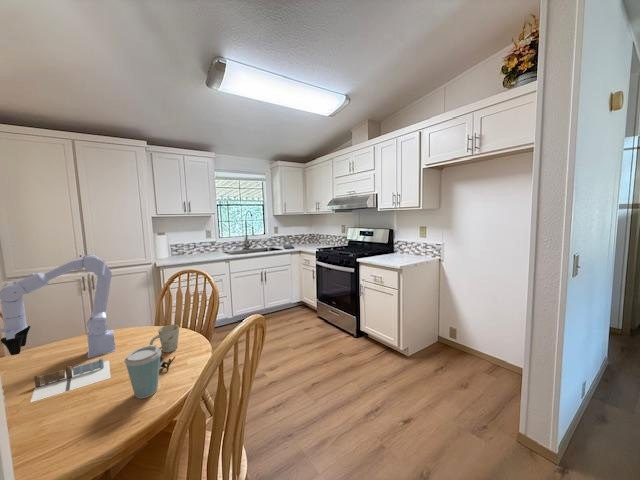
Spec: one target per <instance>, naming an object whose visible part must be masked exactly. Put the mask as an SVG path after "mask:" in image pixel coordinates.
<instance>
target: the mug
mask: <svg viewBox="0 0 640 480" xmlns="http://www.w3.org/2000/svg"><path fill="white" fill-rule="evenodd" d="M157 331H158V335H156V336H154V337H152V338H151V340H150V342H149V345H154V342H155V340H157V339H159V342H160V345H161V346H159V349H160V350H161V352H163V353H171V352H175V351H176V350H177V349H178V347H179V346H178V345H179V334H180V325H178V324H168V325H167V324H166V325H164V326H162V327H159V329H158V330H157Z"/></svg>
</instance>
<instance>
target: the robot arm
mask: <svg viewBox="0 0 640 480" xmlns="http://www.w3.org/2000/svg"><path fill="white" fill-rule="evenodd" d="M83 268H84V269H85V270H87V271H89V272H91V273H93V274H94V275H95V276H97V280H96V286H95V292H94V299H93V306H92V311H91V314H90V318H89V319H88V320H87V322H86V327H87V329H88V332H87V335H86V336H87V349H88V351H87V359H91V358H95V357H98V356H102V355H106V354H109V353H114V352H116V341H115V333H114V329H111V330H110V329H108V323H107V307H108V300H109V293H110V289H111V282H112V281H111V279H112V275H113V274H112V271H111V269H110V268H109V267H108V265H107V264H106V262H105V261H104V260H103V259H101V258H100V257H99V256H97V255H95V254H93V253H90V254H89V253H88V254H85V255H84V256H79V257H77V258H74V259H71V260H70V261H68V262H66V263H65V262H64V263H62V265H61V264H60V265H58V266H57V267H55V268H53V269H50V270H48V271H47V272H44V273H43V272H36V273H33V272H32V273H30V274H29V273H28V276H26V277H25V278H23V279H20V280H15V281H13V282H12V284H11V283H10V284H7V285H4V286H3V287H2V288H1V289H0V304H1V306H0V307H1V315H2V322H3V328H1V329H0V333H4V334H5V337H1V339H0V343H1V344H3V345H4V346H5V347H6V349H7V350H8V353H9V354H10V355H11V356H17V355H20V353H21V347H25V346H26V344H27V338H28V334H29V331H30V329H31V325H28V324H27V316H26V309H25V302H24V300H23V295H29V294H31V293H32V292H34V291H37V290H39V289H41V288H43V287H46V286H47V285H49V282H50V280H53V279H56V278H58V277H60V276H62V275H64V274H67V273H70V272H71V271H83Z"/></svg>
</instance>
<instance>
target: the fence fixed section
mask: <svg viewBox="0 0 640 480" xmlns="http://www.w3.org/2000/svg"><path fill="white" fill-rule="evenodd" d="M72 370H73V368H72V365H68V366H66V367H65V369H61V370H56V371H53V372H51V373H44V374H43V375H39V374H38V375H35V376H34V385H35V387H36V388H38V387H40V385H42V384H45V385H48V384H49V382H53V381H57V382H59V381H60V379H64V378H65V372H66V378H67V379H70V378H72ZM35 387H34V388H35Z"/></svg>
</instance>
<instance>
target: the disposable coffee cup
mask: <svg viewBox="0 0 640 480" xmlns="http://www.w3.org/2000/svg"><path fill="white" fill-rule="evenodd" d="M159 348H160V346H158V345H154V344H153V345H150V344H149V345H144V346H141V347H139V348H136V349H135V350H133V351H131V352H130V353H128V355H127V356H126V358H125V359H124V364H125V366H126V369H127V373H128V376H129V379H130V383H131V387H132V391H133V394H134V396H135V397H136V399H146V398H148V397H151V396H152V395H154V394H155V393H156V392H157V390H158V387H159V380H160V379H159V375H160V368H161V367H160V357H162V356H161V355H162V354H163V353H162V349H159Z"/></svg>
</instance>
